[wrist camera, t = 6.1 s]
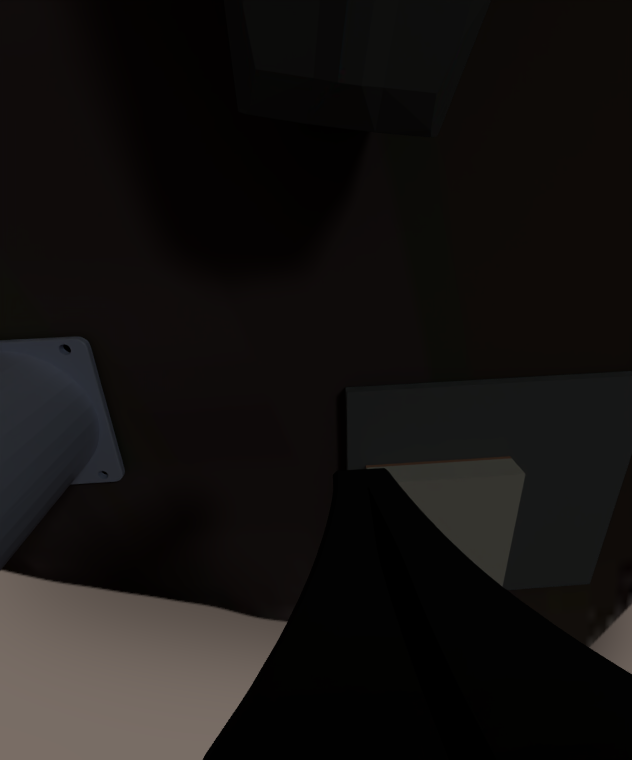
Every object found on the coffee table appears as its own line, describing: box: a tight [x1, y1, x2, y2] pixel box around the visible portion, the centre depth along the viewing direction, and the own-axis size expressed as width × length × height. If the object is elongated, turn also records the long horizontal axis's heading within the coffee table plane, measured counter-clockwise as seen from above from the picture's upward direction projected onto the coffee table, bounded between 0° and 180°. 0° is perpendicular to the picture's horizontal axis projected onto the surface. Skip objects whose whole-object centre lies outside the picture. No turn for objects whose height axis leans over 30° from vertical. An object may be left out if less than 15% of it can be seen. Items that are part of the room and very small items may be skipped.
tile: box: [366, 456, 525, 587], centre depth 23 cm, size 8×2×9 cm
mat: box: [345, 371, 632, 590], centre depth 23 cm, size 16×15×1 cm
